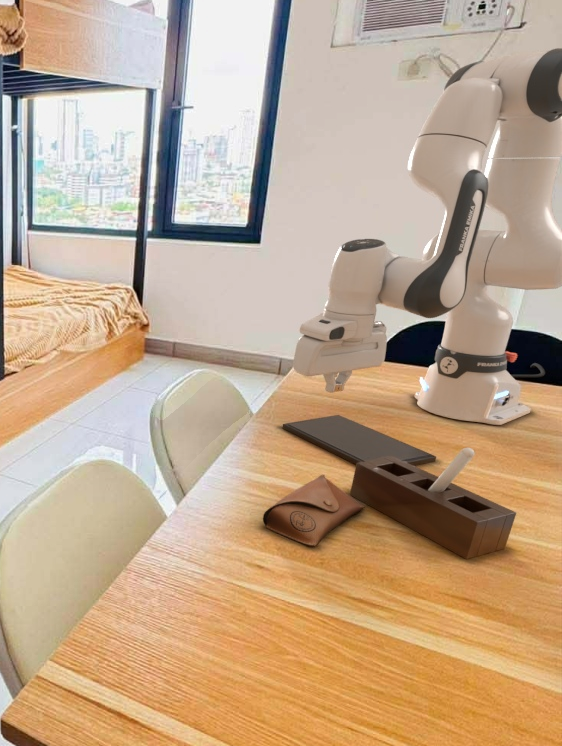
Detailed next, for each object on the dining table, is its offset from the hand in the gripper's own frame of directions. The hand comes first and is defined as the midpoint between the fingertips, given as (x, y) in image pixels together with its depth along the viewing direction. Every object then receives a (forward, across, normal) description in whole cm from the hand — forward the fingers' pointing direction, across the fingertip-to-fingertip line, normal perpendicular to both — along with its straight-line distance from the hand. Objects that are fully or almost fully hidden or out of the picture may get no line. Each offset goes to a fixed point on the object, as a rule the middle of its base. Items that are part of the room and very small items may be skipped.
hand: (334, 391), depth 127 cm
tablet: (+9, 0, +7) cm, 11 cm away
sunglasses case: (+9, +29, +26) cm, 40 cm away
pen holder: (+9, +14, +32) cm, 36 cm away
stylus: (+9, +14, +30) cm, 35 cm away
